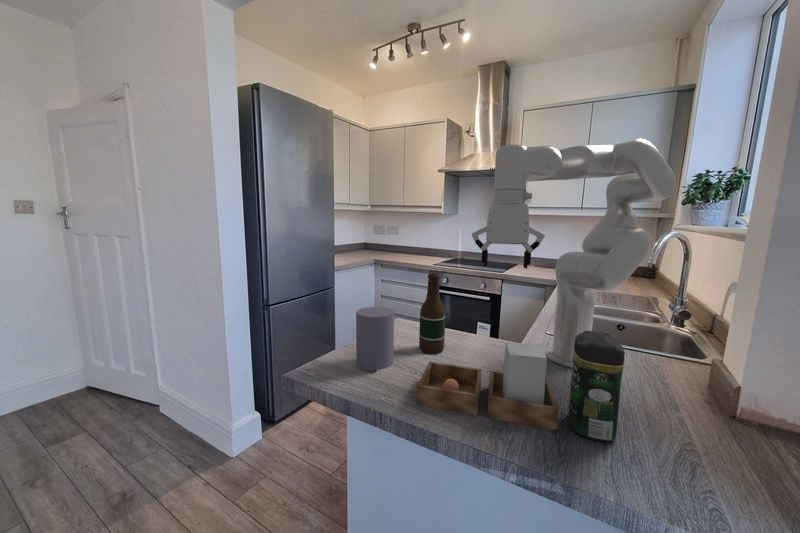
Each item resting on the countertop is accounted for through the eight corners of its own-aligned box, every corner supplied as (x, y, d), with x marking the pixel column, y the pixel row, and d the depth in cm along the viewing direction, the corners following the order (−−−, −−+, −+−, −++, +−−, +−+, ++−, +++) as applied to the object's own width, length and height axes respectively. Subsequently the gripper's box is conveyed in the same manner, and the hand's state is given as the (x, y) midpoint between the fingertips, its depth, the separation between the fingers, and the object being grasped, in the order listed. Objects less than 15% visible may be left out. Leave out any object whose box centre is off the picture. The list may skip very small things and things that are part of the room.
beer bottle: (445, 355, 96) (448, 276, 92) (419, 354, 96) (421, 275, 92) (442, 345, 103) (445, 272, 100) (418, 344, 103) (420, 271, 100)
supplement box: (543, 418, 63) (548, 358, 62) (504, 413, 65) (508, 354, 63) (536, 399, 71) (540, 344, 69) (501, 394, 72) (504, 341, 71)
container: (368, 353, 96) (368, 305, 94) (399, 360, 91) (400, 309, 89) (348, 367, 87) (348, 313, 85) (382, 375, 82) (382, 319, 80)
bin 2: (546, 399, 72) (548, 378, 71) (556, 434, 60) (558, 409, 60) (488, 390, 76) (489, 370, 75) (487, 421, 64) (488, 397, 63)
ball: (459, 392, 73) (460, 377, 73) (457, 400, 70) (458, 384, 69) (443, 389, 74) (444, 374, 74) (441, 397, 71) (441, 382, 70)
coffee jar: (565, 409, 68) (573, 325, 66) (609, 419, 65) (619, 331, 63) (569, 436, 60) (578, 340, 57) (619, 449, 56) (631, 348, 54)
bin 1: (480, 388, 76) (481, 369, 76) (477, 419, 64) (478, 396, 64) (428, 380, 80) (429, 361, 79) (416, 408, 68) (417, 386, 67)
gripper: (544, 199, 80) (539, 266, 83) (474, 199, 85) (471, 263, 87) (549, 196, 73) (543, 270, 75) (472, 197, 78) (469, 266, 80)
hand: (505, 266), depth 81 cm, fingers open, 9 cm apart
